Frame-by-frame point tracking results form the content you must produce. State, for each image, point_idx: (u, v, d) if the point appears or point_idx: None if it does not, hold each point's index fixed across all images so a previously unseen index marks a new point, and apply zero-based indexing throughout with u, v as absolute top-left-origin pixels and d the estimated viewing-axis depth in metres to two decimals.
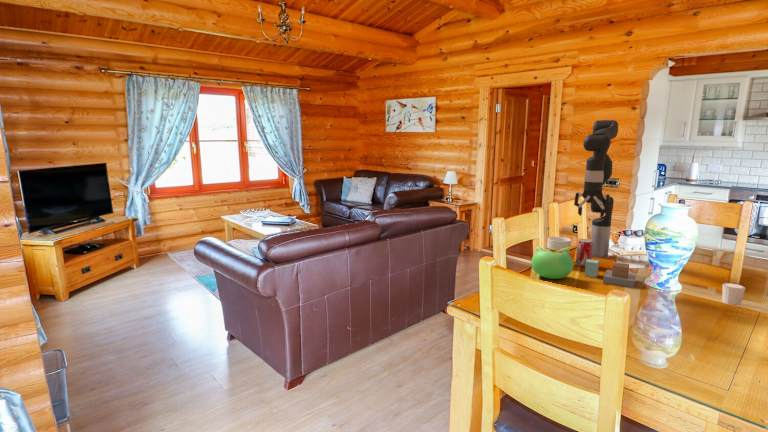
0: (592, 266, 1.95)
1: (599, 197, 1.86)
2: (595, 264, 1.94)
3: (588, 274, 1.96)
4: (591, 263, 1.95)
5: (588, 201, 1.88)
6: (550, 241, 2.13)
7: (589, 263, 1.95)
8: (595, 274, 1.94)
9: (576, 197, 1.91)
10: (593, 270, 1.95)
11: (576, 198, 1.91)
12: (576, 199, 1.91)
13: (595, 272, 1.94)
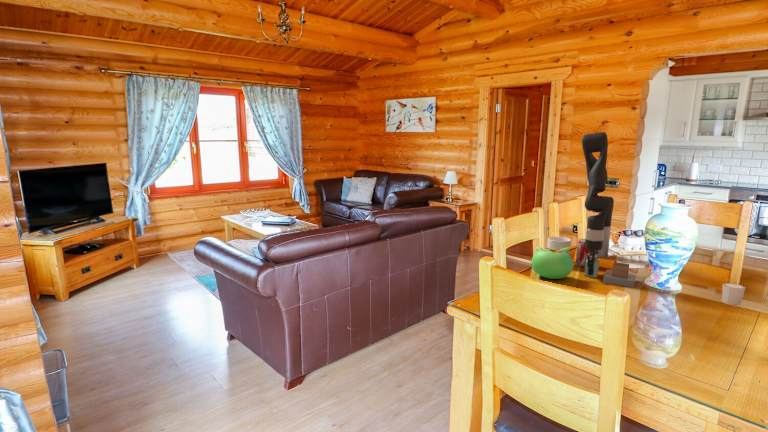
0: None
1: None
2: (595, 264, 1.94)
3: None
4: (591, 263, 1.95)
5: None
6: (550, 241, 2.13)
7: None
8: (595, 274, 1.94)
9: (593, 259, 1.91)
10: None
11: (593, 260, 1.91)
12: (593, 261, 1.91)
13: (595, 272, 1.94)
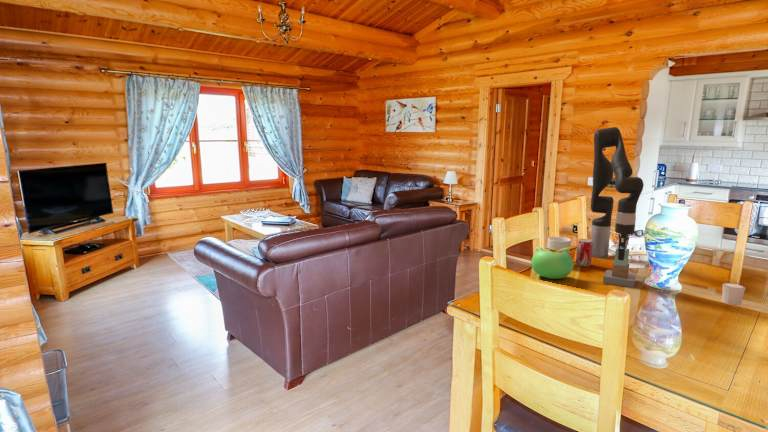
0: None
1: None
2: (626, 252, 1.83)
3: (618, 263, 1.86)
4: None
5: (625, 243, 1.84)
6: (550, 241, 2.13)
7: None
8: (626, 263, 1.84)
9: (625, 243, 1.79)
10: (624, 259, 1.84)
11: (625, 244, 1.80)
12: (625, 245, 1.80)
13: (626, 261, 1.84)
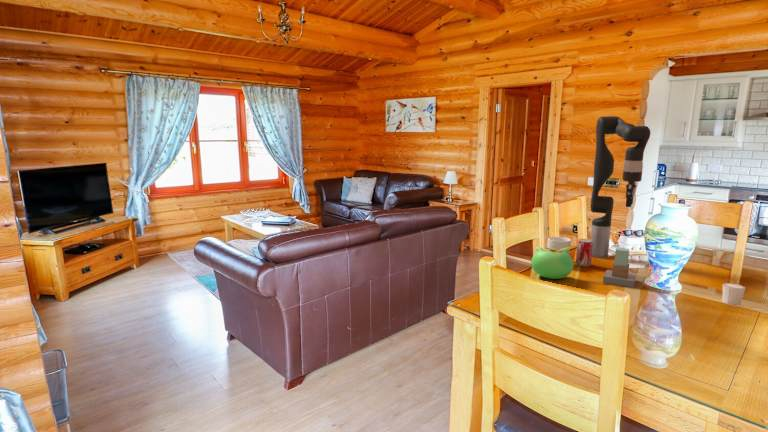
0: (622, 254, 1.84)
1: None
2: (626, 252, 1.83)
3: (618, 263, 1.86)
4: (621, 251, 1.84)
5: None
6: (550, 241, 2.13)
7: (619, 251, 1.85)
8: (626, 263, 1.84)
9: (632, 189, 1.86)
10: (624, 259, 1.84)
11: (632, 190, 1.86)
12: (632, 191, 1.86)
13: (626, 261, 1.84)
